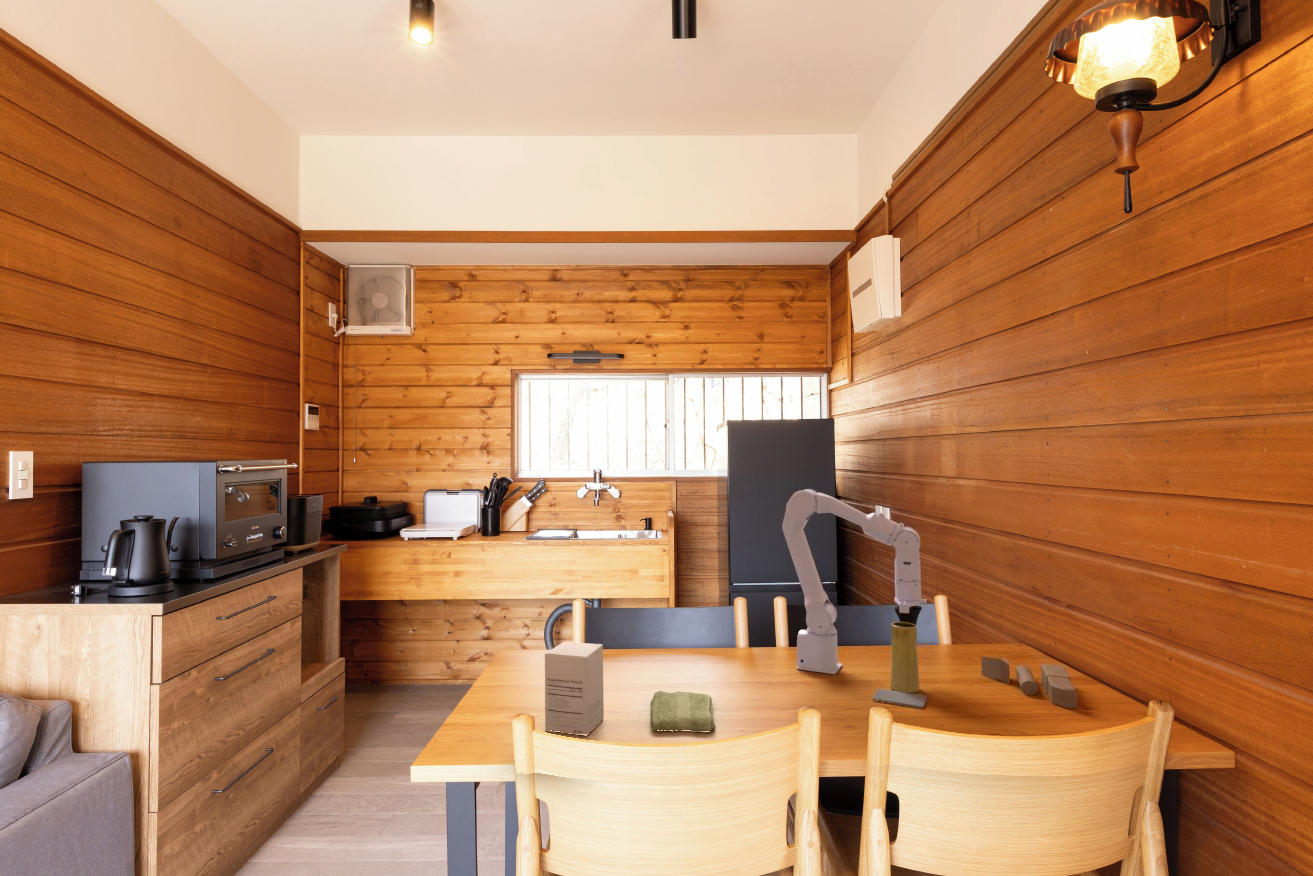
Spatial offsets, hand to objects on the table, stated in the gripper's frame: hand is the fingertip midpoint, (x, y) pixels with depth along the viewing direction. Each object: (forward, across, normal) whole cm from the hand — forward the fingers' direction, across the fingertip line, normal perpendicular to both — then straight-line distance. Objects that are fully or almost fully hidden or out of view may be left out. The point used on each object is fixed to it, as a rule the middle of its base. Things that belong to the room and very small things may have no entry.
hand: (908, 637), depth 155 cm
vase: (+10, -8, 0) cm, 12 cm away
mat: (+9, -15, 0) cm, 18 cm away
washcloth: (+10, -45, +38) cm, 60 cm away
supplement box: (+10, -59, +54) cm, 80 cm away
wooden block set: (+10, +3, -24) cm, 26 cm away
